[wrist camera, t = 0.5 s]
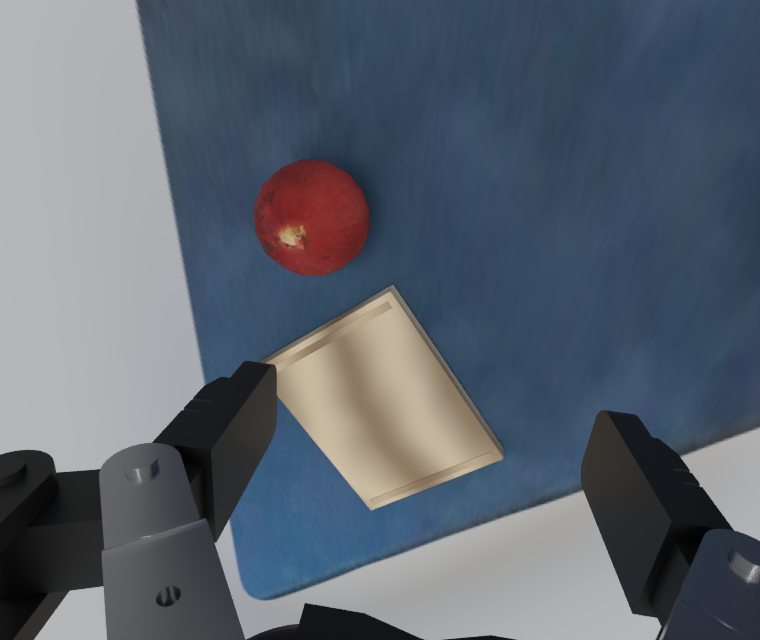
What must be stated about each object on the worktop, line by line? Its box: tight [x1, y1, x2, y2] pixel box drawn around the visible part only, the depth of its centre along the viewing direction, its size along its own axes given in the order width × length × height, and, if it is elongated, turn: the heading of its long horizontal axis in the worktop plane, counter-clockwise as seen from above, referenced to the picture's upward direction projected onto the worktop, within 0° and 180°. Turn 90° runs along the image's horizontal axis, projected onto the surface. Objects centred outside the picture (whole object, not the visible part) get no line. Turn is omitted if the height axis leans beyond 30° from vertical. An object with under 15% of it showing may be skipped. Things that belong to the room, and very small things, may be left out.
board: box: [260, 285, 504, 510], centre depth 33 cm, size 11×14×1 cm
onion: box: [254, 160, 370, 276], centre depth 24 cm, size 6×6×8 cm
